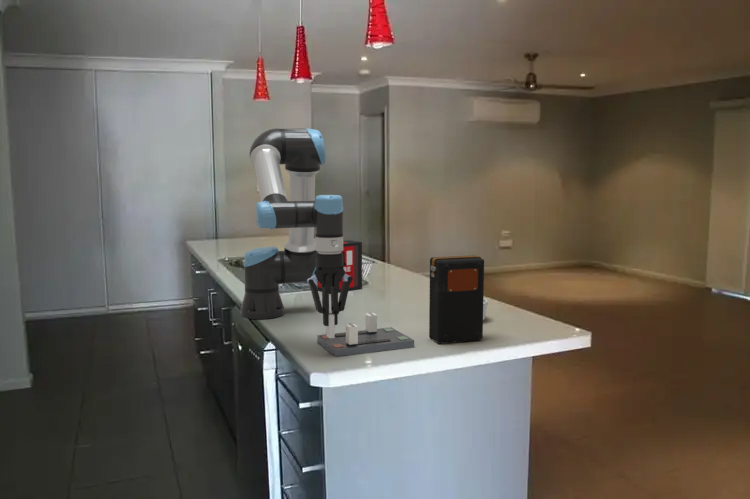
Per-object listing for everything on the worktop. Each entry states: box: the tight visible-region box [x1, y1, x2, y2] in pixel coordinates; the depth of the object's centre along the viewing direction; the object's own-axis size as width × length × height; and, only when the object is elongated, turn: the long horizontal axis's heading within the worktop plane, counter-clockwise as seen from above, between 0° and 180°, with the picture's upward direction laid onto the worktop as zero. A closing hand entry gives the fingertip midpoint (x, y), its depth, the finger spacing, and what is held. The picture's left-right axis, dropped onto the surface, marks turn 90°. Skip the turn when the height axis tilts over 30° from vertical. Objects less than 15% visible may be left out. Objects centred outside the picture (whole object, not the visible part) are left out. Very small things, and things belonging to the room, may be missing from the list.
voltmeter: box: [428, 254, 485, 344], centre depth 188 cm, size 16×9×25 cm, turn 107°
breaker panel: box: [316, 326, 415, 358], centre depth 185 cm, size 16×24×2 cm, turn 113°
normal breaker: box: [364, 312, 378, 332], centre depth 190 cm, size 3×2×5 cm
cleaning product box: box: [317, 239, 363, 295], centre depth 265 cm, size 16×9×20 cm, turn 129°
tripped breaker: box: [345, 322, 359, 345], centre depth 177 cm, size 3×2×5 cm
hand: (330, 336), depth 175 cm, fingers closed
